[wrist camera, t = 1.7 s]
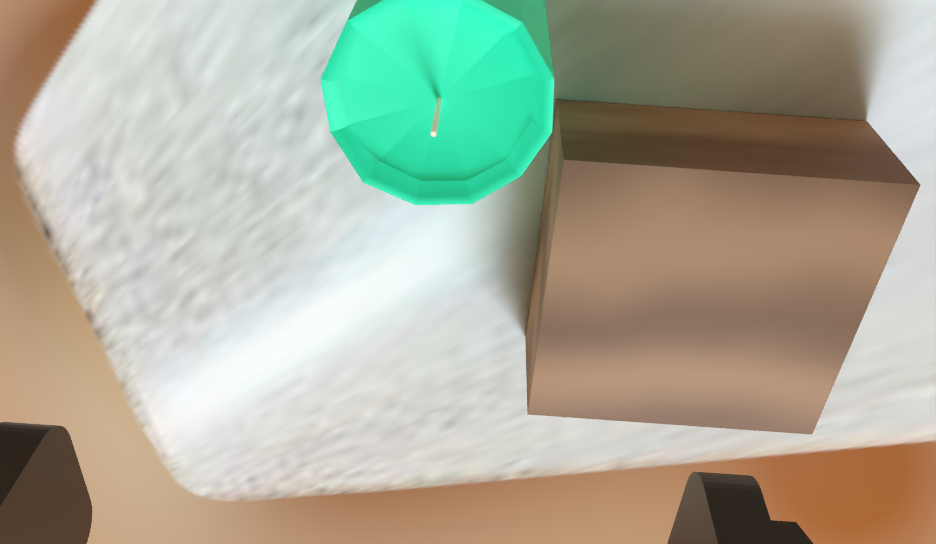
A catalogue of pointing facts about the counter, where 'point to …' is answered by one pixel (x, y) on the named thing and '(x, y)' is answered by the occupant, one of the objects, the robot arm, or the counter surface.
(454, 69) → the candle
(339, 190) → the counter surface
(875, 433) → the counter surface
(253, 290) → the counter surface
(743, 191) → the walnut stand
